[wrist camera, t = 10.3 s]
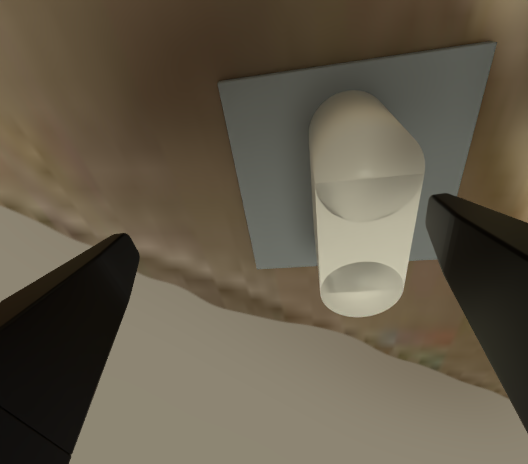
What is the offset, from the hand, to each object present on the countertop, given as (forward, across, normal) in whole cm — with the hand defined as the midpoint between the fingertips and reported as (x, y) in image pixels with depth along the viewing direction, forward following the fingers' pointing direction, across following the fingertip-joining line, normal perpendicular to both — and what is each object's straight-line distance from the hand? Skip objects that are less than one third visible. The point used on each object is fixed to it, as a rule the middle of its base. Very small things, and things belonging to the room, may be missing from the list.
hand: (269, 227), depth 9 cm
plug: (+11, -4, +6) cm, 13 cm away
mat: (+11, -4, +5) cm, 13 cm away
